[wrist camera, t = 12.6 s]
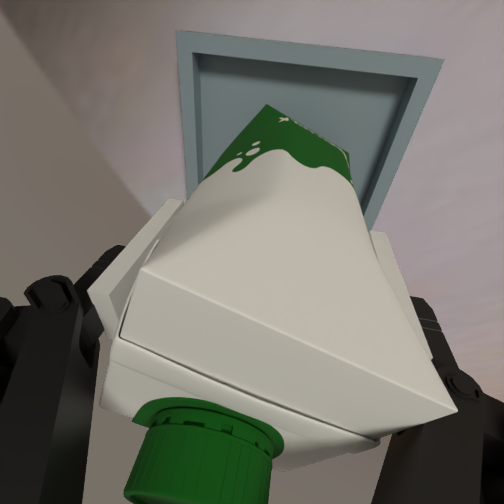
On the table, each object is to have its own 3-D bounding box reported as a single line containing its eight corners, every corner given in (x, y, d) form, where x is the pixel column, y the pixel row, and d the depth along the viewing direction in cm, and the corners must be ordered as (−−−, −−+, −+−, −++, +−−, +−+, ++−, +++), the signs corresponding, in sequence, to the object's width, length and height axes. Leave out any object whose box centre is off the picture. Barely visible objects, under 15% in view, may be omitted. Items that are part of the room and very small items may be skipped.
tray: (198, 225, 29) (190, 239, 27) (189, 31, 19) (175, 30, 17) (352, 251, 27) (355, 267, 26) (429, 57, 18) (444, 59, 16)
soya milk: (214, 189, 24) (33, 479, 8) (261, 80, 18) (-17, 339, 3) (300, 234, 25) (287, 554, 10) (369, 146, 20) (602, 568, 4)
